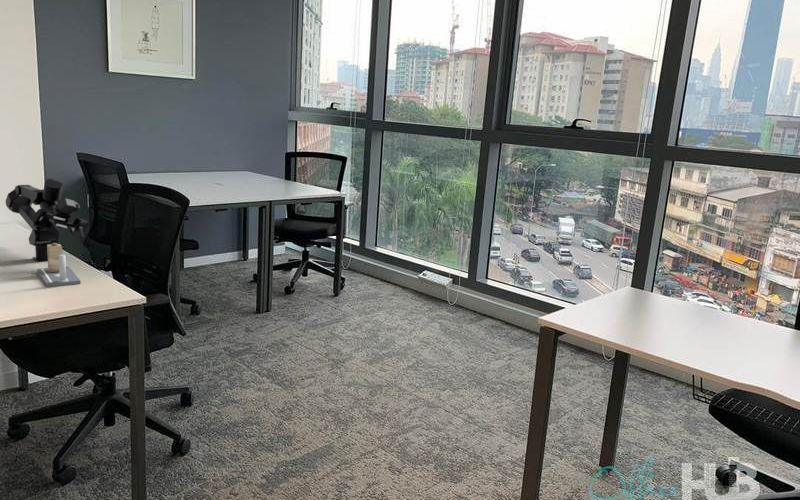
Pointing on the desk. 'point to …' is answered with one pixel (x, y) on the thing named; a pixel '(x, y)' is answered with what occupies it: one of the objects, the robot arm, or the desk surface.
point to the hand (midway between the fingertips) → (70, 235)
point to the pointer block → (54, 256)
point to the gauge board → (54, 279)
